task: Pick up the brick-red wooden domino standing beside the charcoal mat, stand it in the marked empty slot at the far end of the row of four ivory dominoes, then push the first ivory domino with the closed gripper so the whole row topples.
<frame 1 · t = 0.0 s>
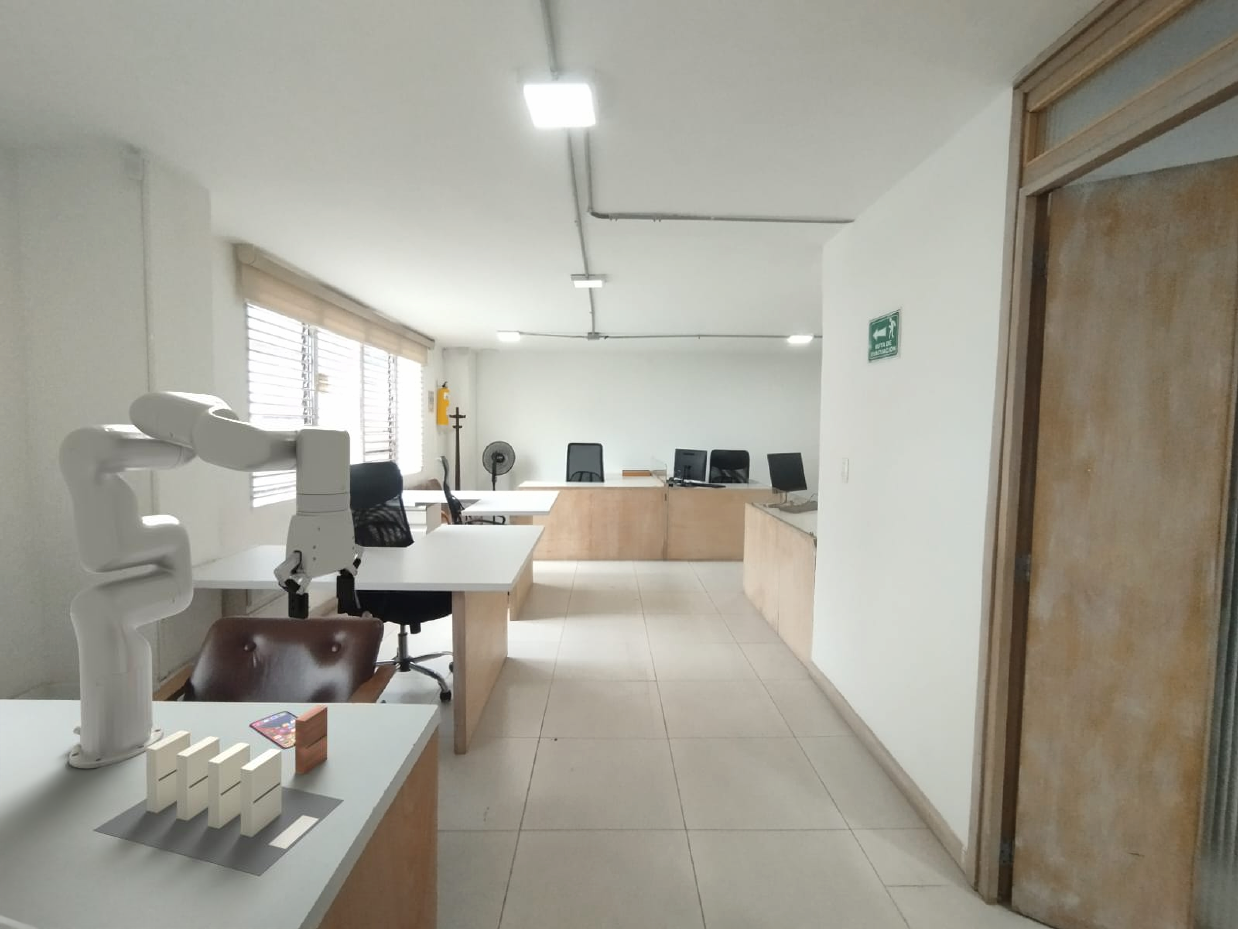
hand: (323, 608, 84), 31 cm above the table, fingers open, 9 cm apart
smartphone: (285, 733, 103), on the table
domino 3: (229, 815, 79), resting on domino mat
domino 4: (261, 823, 78), resting on domino mat
domino 1: (169, 801, 82), resting on domino mat
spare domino: (311, 767, 92), on the table
domino 2: (199, 808, 81), resting on domino mat
domino mat: (224, 817, 80), on the table
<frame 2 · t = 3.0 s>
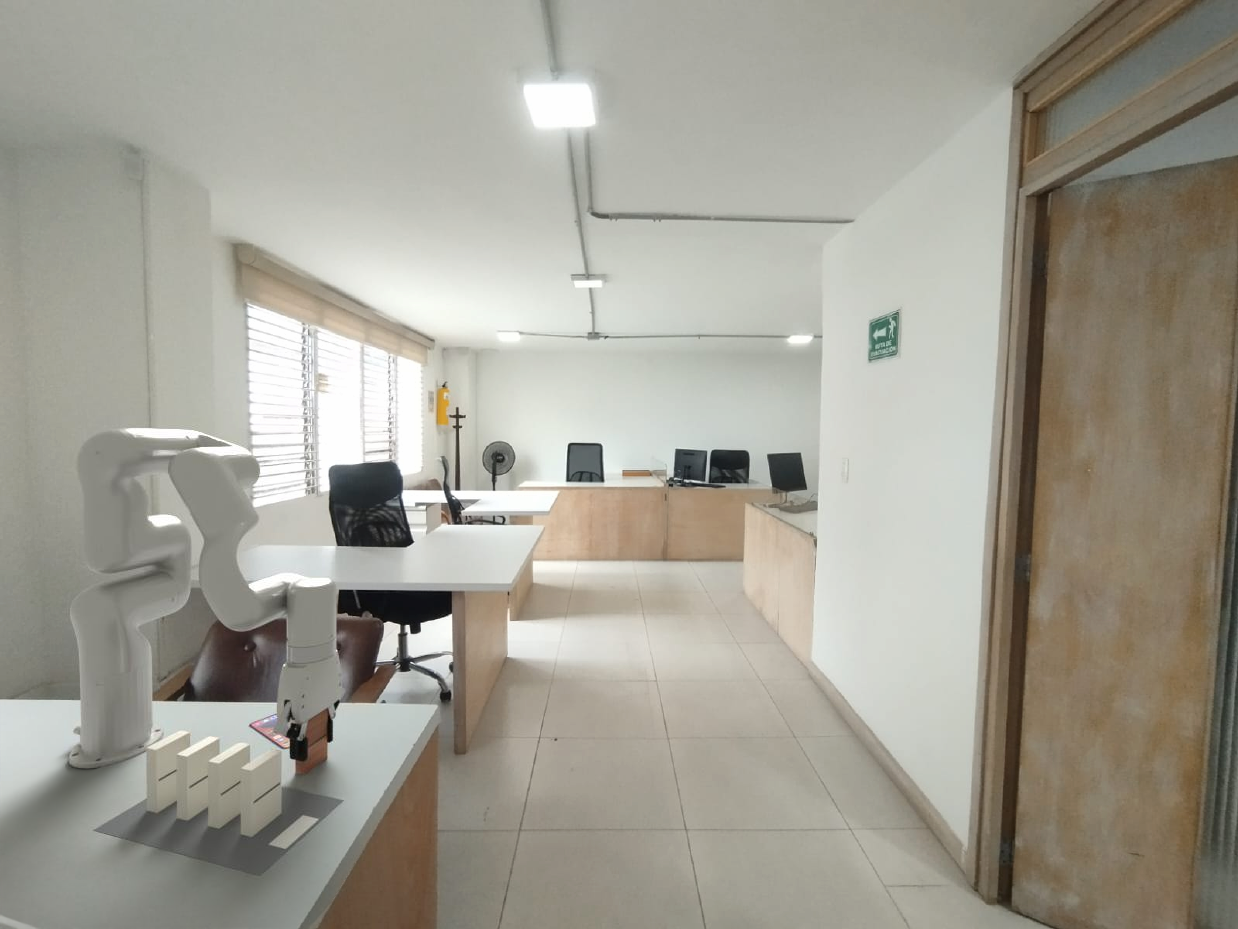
hand: (311, 748, 92), 3 cm above the table, fingers closed on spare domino, 4 cm apart
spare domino: (311, 767, 92), on the table, touching gripper
everything else where it was.
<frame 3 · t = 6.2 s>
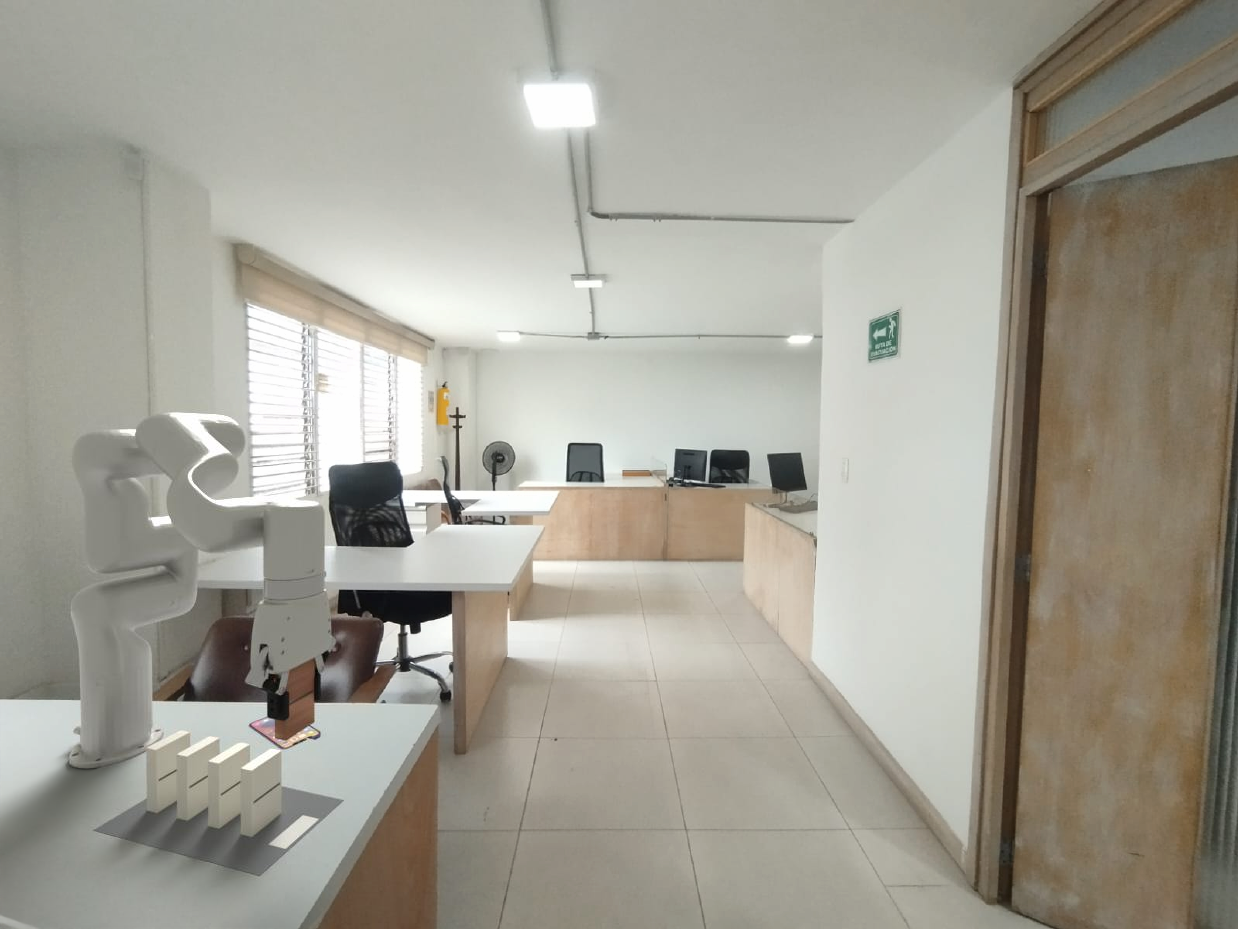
hand: (294, 707, 76), 19 cm above the table, fingers closed on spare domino, 4 cm apart
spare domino: (295, 730, 76), point 16 cm above the table, touching gripper
everything else where it was.
when the fingers open (5 cm above the table, at t = 9.3 s): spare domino stays where it is, resting on domino mat.
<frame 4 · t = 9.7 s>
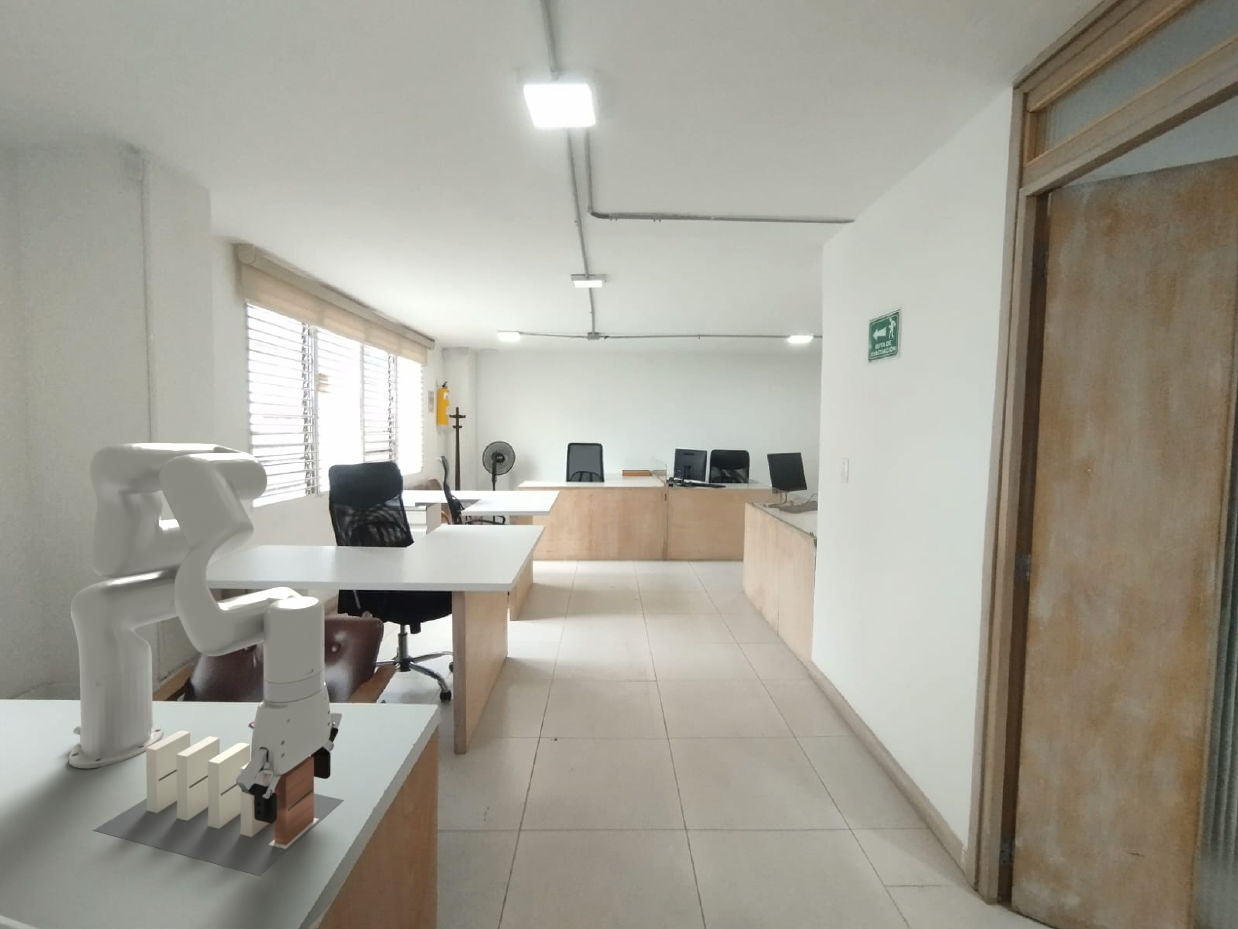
hand: (294, 797, 76), 6 cm above the table, fingers open, 9 cm apart
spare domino: (294, 831, 77), point 1 cm above the table, touching domino mat
everything else where it was.
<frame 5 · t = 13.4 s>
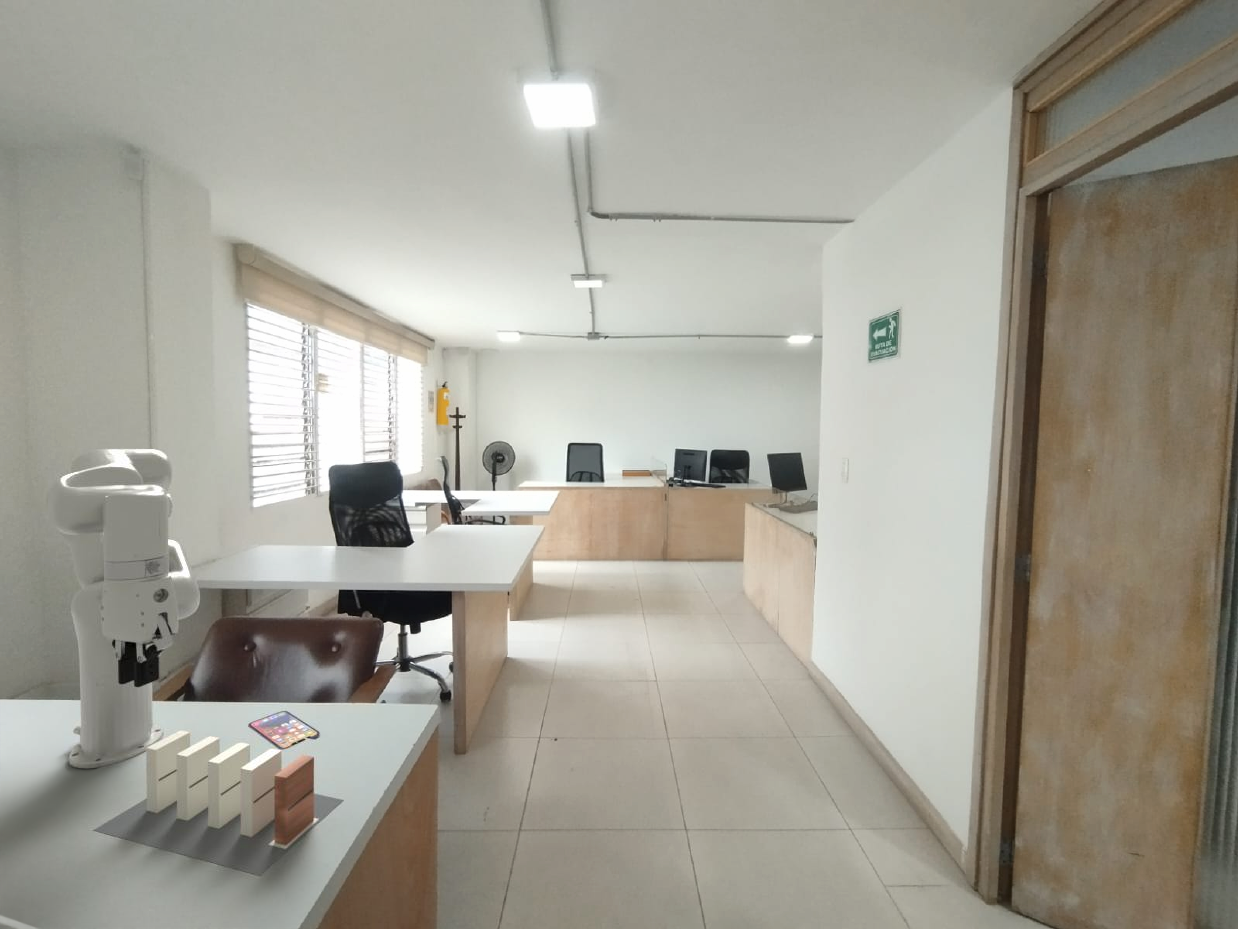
hand: (139, 681, 83), 19 cm above the table, fingers closed
nothing on the table moved.
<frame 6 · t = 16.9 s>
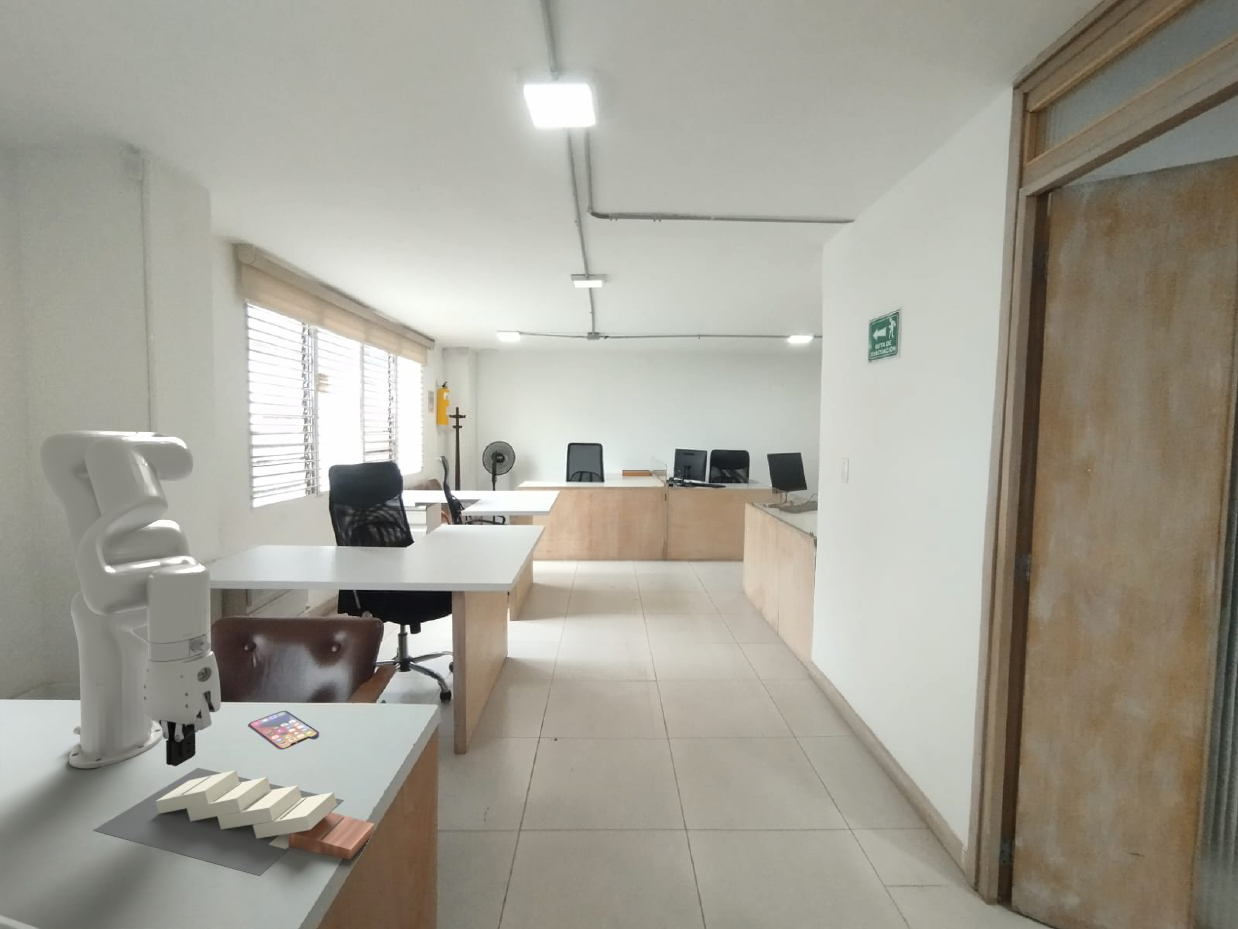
hand: (181, 760, 81), 8 cm above the table, fingers closed
domino 3: (235, 811, 79), point 1 cm above the table, tilted 71°, touching domino 2, domino 4, domino mat
domino 4: (269, 819, 78), point 1 cm above the table, tilted 70°, touching domino 3, domino mat, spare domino
domino 1: (174, 796, 82), point 1 cm above the table, tilted 70°, touching domino 2, domino mat
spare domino: (302, 826, 76), point 2 cm above the table, tilted 94°, touching domino 4, domino mat
domino 2: (205, 803, 81), point 1 cm above the table, tilted 70°, touching domino 1, domino 3, domino mat
everything else where it was.
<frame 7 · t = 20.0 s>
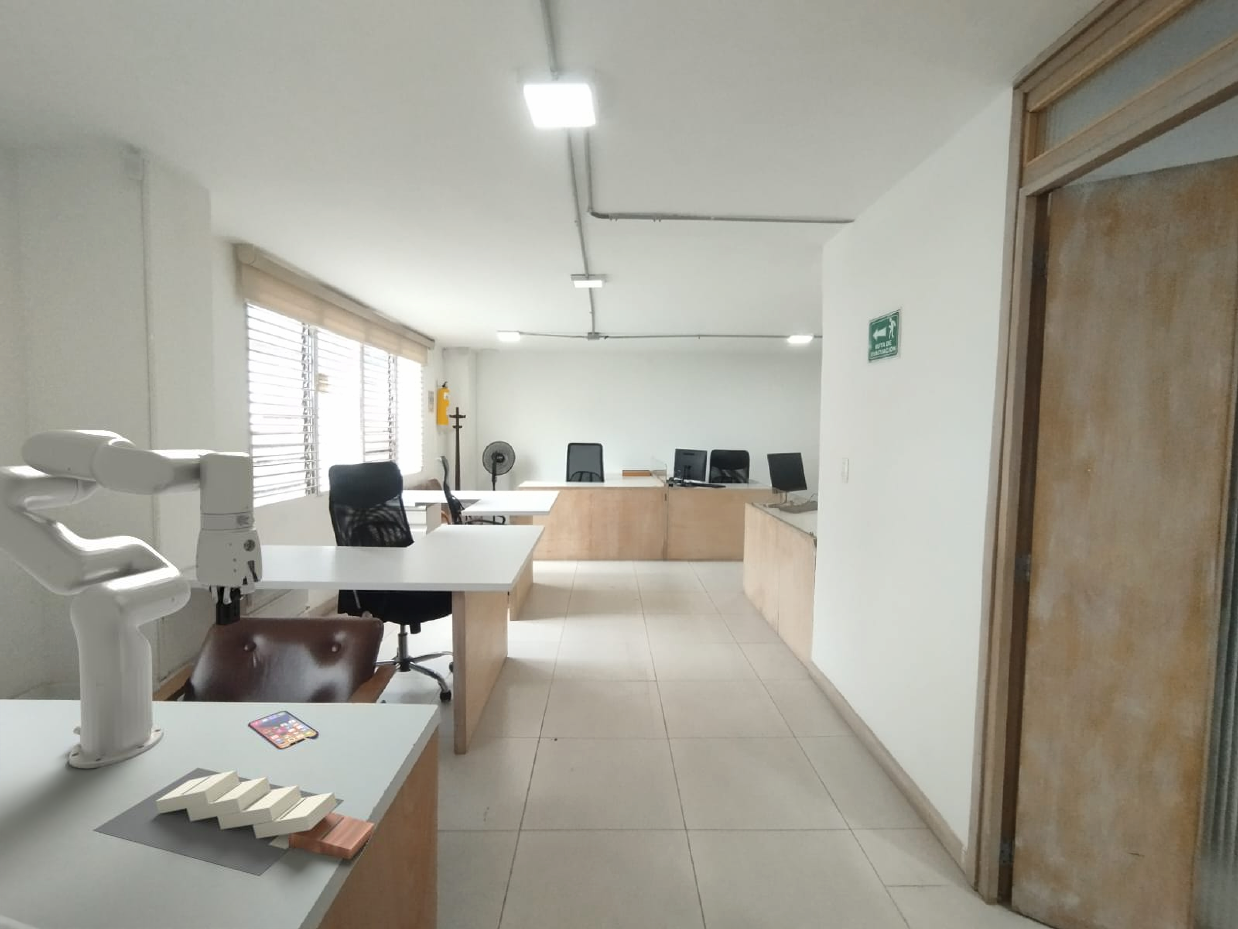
hand: (228, 623, 93), 25 cm above the table, fingers closed
nothing on the table moved.
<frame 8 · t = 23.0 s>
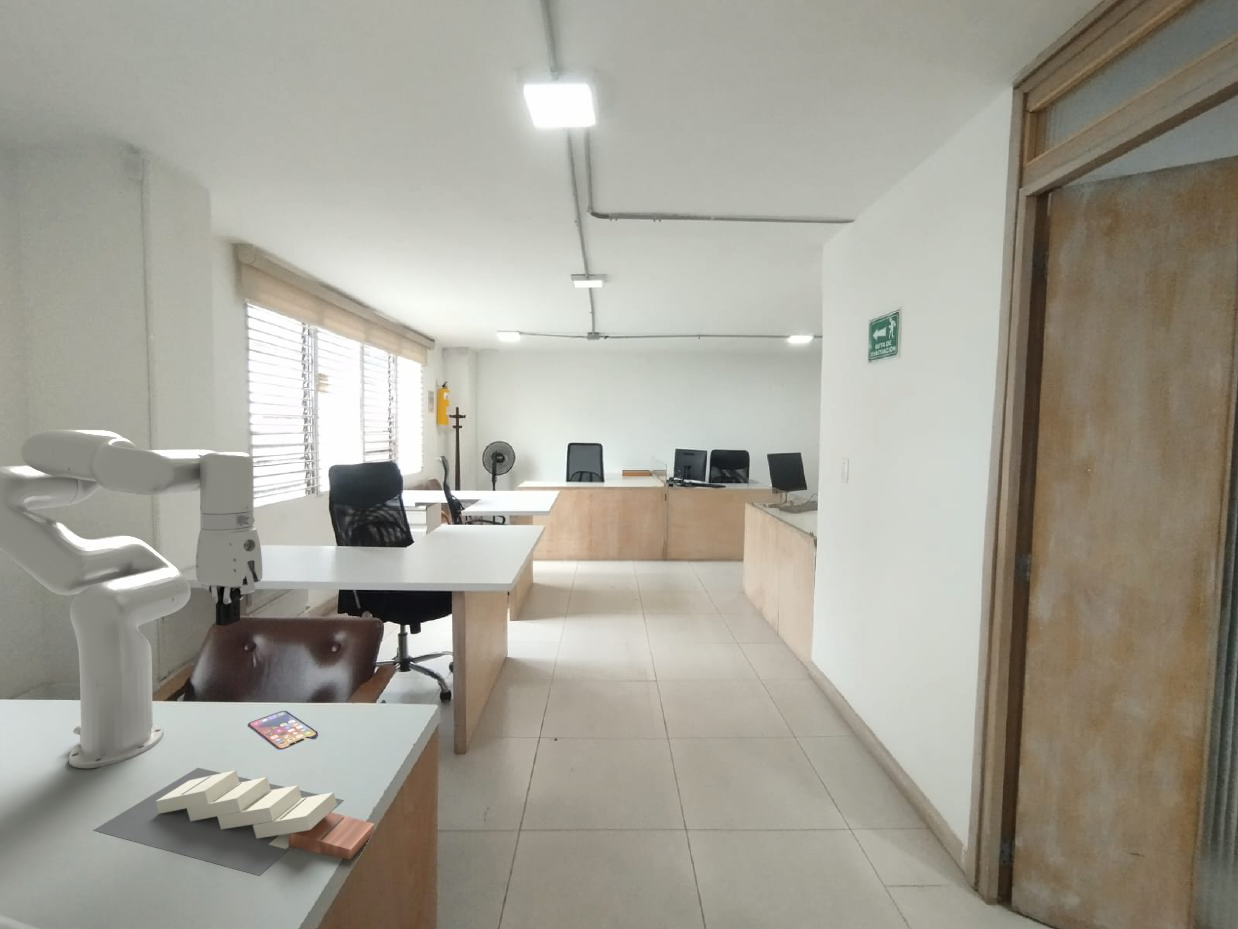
hand: (228, 623, 93), 25 cm above the table, fingers closed
nothing on the table moved.
at the end: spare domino tilted 94°; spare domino inside the target area (0.6 cm from its centre), point 1.5 cm above the table; domino 1 tilted 70° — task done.
